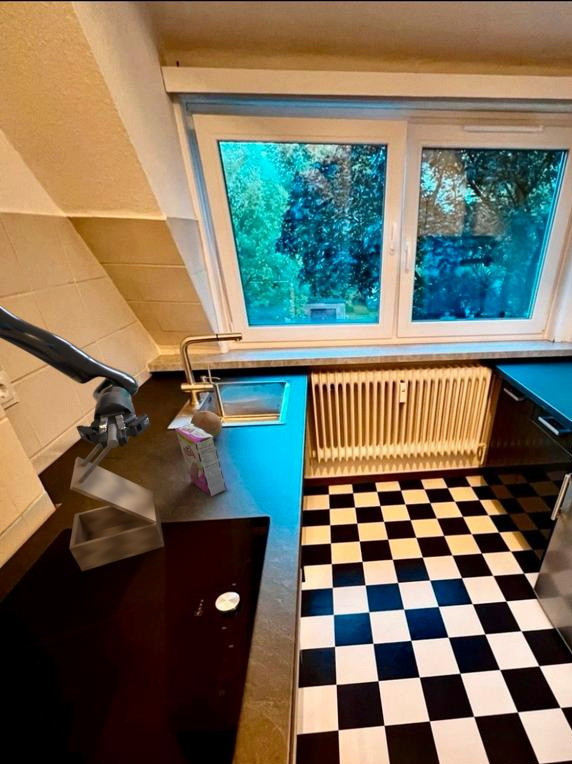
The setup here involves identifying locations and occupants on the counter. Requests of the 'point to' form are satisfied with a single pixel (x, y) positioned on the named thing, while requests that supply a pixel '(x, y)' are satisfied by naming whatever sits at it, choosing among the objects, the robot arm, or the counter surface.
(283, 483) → the counter surface
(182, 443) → the candy bar box
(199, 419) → the brown round ball
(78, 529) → the oak box
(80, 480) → the box lid
